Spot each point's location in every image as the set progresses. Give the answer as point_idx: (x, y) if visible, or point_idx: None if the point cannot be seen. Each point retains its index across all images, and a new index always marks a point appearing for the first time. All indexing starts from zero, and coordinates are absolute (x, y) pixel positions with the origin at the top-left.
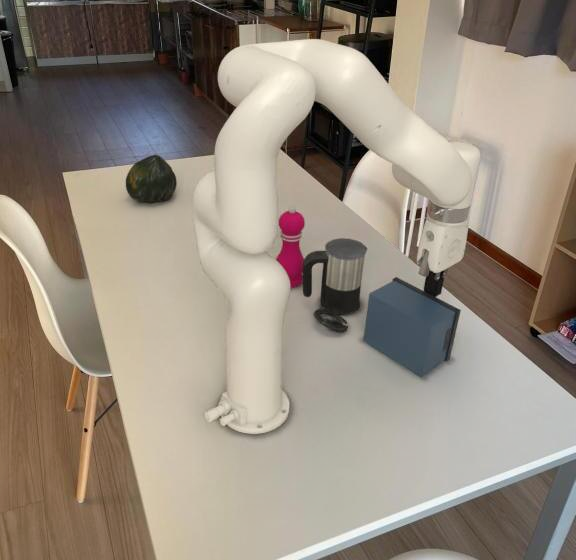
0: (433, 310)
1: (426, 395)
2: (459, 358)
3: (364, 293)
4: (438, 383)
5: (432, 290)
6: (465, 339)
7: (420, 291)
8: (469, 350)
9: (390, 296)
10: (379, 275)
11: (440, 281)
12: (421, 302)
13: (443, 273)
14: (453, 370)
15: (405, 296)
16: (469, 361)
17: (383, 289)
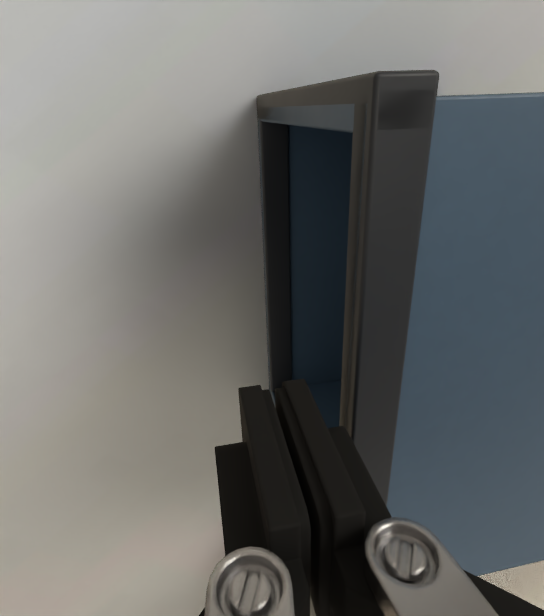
0: (533, 247)
1: (530, 2)
2: (210, 66)
3: (202, 546)
4: (433, 16)
5: (346, 436)
6: (59, 147)
7: (375, 467)
8: (112, 71)
9: (540, 498)
10: (71, 603)
11: (334, 497)
12: (484, 371)
13: (291, 605)
14: (309, 25)
15: (487, 465)
16: (186, 10)
17: (498, 556)
